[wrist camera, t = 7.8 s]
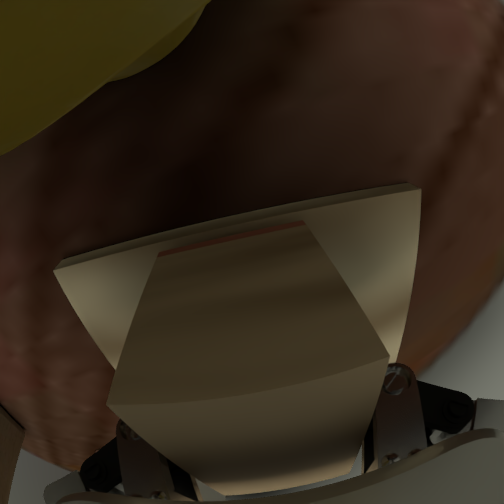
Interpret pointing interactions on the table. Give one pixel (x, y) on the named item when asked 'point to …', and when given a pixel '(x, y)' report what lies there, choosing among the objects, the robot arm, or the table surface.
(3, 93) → the plant pot
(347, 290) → the block
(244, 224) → the board
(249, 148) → the table surface
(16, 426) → the wooden block
